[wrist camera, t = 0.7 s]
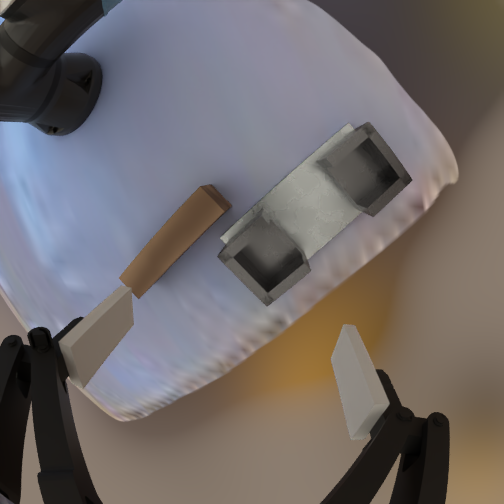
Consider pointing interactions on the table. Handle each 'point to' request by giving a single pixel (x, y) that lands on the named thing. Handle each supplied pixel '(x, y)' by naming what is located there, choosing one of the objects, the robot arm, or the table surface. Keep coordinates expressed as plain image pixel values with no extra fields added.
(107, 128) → the table surface
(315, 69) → the table surface
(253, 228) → the grey rectangular holder
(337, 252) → the table surface
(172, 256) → the rail
